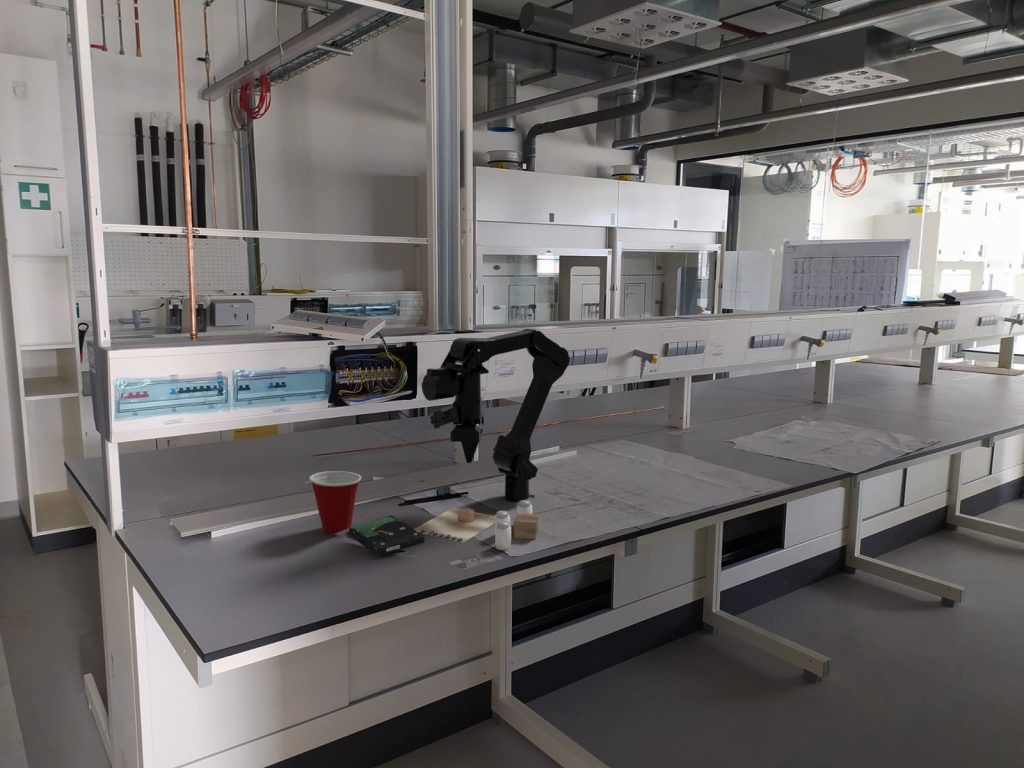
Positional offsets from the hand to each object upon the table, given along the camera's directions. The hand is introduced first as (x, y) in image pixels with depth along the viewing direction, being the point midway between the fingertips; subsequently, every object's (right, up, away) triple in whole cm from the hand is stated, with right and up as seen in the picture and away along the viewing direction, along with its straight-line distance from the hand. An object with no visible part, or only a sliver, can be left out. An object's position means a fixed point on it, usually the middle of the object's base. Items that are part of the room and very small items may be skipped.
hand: (469, 462), depth 163 cm
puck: (0, -12, -5) cm, 13 cm away
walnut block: (+13, -14, -13) cm, 23 cm away
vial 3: (+12, -13, -7) cm, 20 cm away
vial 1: (+8, -14, -14) cm, 21 cm away
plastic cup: (-28, -14, -8) cm, 32 cm away
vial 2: (+8, -15, -19) cm, 26 cm away
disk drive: (-16, -15, -14) cm, 26 cm away
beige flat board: (-2, -13, -7) cm, 15 cm away
